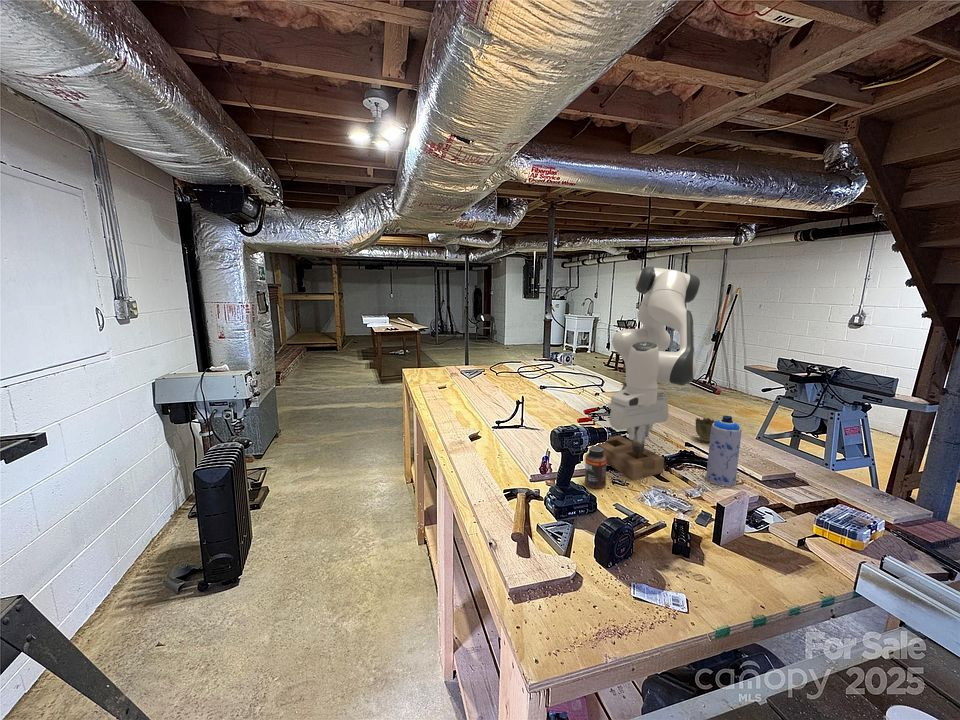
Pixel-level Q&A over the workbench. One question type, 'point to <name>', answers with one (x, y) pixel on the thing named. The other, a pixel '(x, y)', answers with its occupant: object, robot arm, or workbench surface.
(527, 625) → the workbench surface
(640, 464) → the socket block
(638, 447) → the peg
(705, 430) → the cup
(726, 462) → the aerosol can
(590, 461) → the supplement bottle
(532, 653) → the workbench surface
